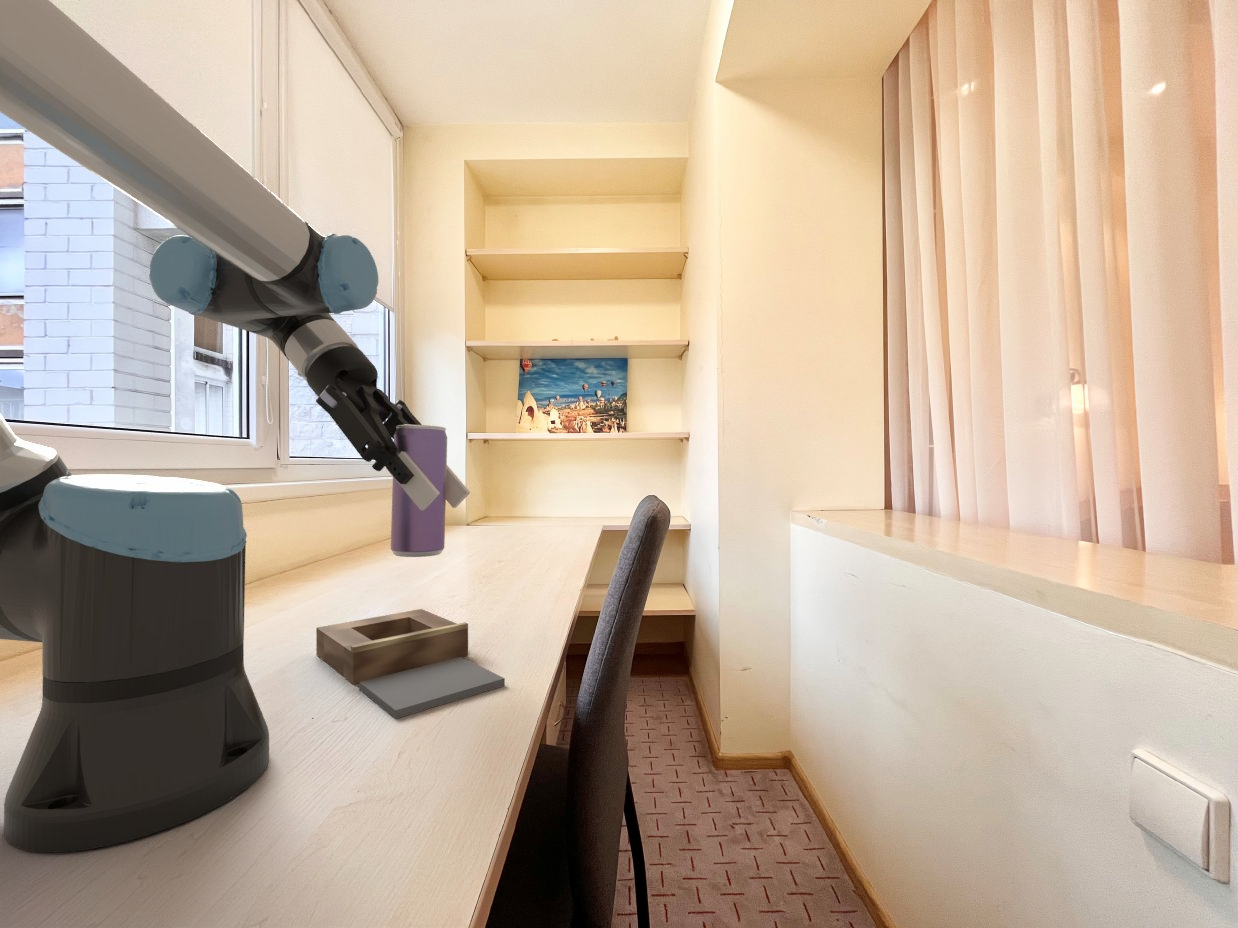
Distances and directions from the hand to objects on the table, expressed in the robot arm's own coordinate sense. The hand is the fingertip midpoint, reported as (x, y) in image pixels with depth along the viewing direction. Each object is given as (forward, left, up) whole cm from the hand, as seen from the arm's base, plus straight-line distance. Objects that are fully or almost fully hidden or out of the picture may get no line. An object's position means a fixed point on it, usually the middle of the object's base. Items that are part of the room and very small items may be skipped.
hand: (446, 500), depth 66 cm
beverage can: (-2, +3, -7) cm, 7 cm away
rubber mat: (-3, -3, -20) cm, 21 cm away
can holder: (-2, +11, -20) cm, 23 cm away
